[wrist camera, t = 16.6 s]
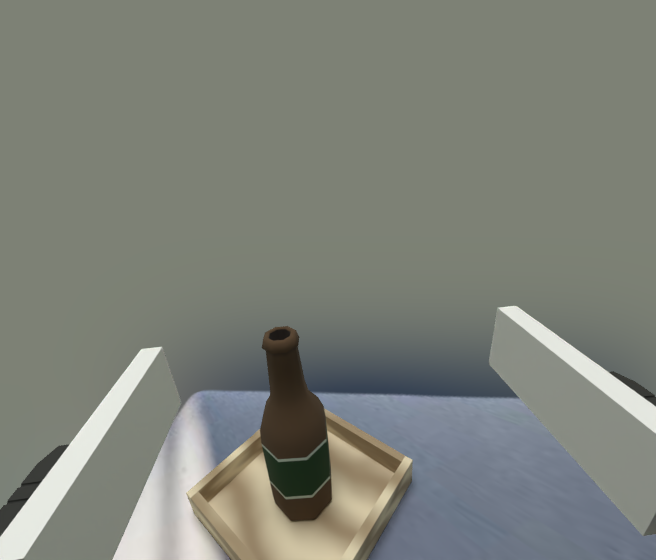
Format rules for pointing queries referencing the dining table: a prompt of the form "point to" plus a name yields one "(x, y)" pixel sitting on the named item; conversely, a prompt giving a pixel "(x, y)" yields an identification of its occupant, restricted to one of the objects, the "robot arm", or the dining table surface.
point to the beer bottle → (294, 432)
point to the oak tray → (304, 535)
